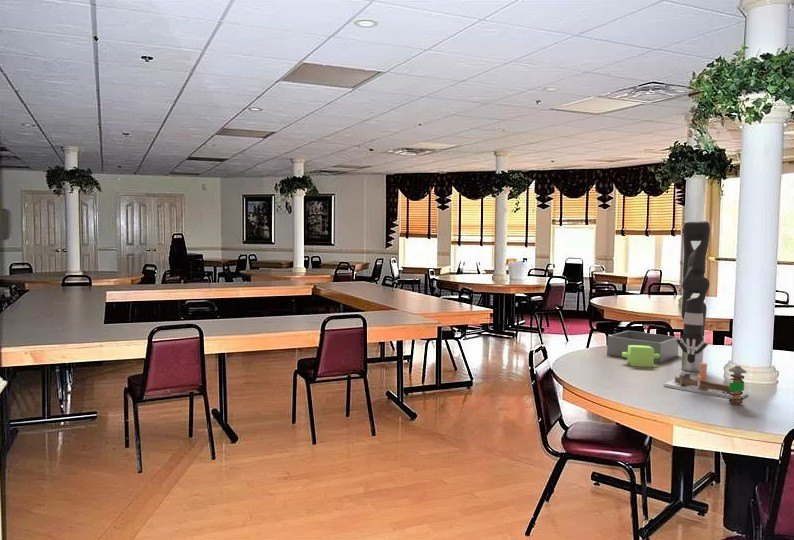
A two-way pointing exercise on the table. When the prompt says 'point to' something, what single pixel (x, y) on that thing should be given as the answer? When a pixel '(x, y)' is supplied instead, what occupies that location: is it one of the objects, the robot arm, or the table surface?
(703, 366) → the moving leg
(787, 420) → the table surface
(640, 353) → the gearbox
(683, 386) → the hole plate
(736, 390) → the shock absorber
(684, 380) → the beam
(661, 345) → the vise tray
